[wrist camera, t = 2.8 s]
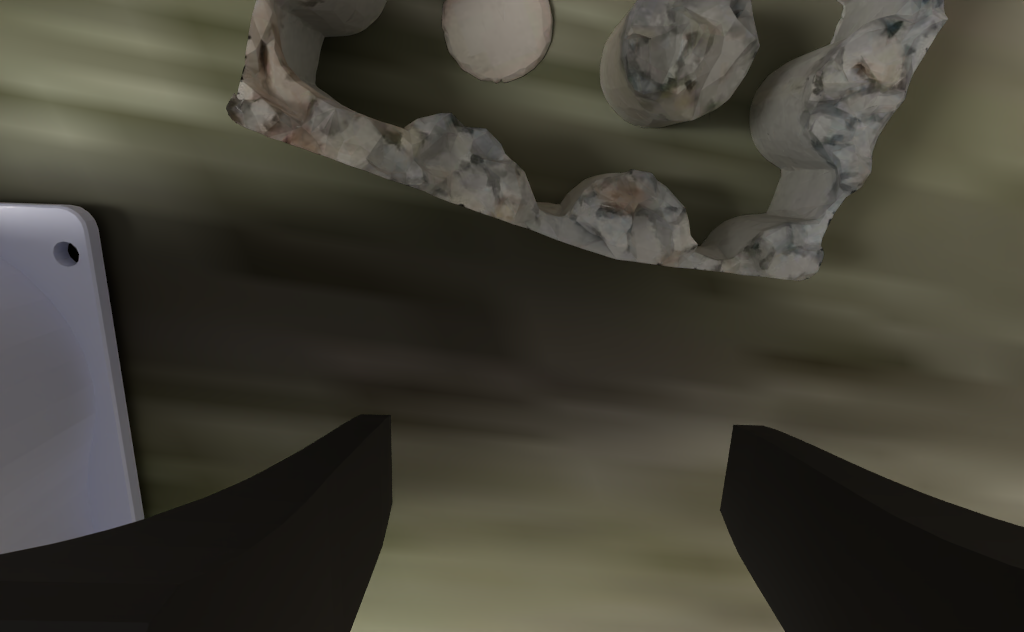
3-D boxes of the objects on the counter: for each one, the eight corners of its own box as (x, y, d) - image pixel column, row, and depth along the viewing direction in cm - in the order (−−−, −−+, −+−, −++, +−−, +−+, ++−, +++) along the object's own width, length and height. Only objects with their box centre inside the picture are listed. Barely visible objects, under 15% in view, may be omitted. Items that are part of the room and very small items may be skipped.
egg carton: (288, 139, 12) (178, 123, 8) (377, -267, 10) (293, -554, 6) (734, 290, 13) (837, 343, 9) (888, -55, 11) (1105, -181, 7)
